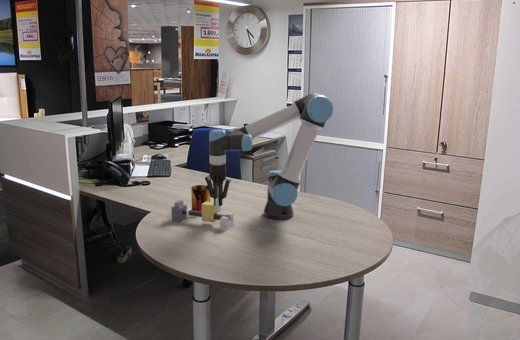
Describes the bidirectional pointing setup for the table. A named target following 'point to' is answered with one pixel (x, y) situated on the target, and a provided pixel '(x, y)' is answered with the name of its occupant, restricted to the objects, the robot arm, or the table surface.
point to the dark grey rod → (200, 214)
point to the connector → (178, 211)
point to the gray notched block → (226, 222)
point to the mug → (199, 196)
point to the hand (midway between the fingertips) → (218, 211)
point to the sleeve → (208, 211)
